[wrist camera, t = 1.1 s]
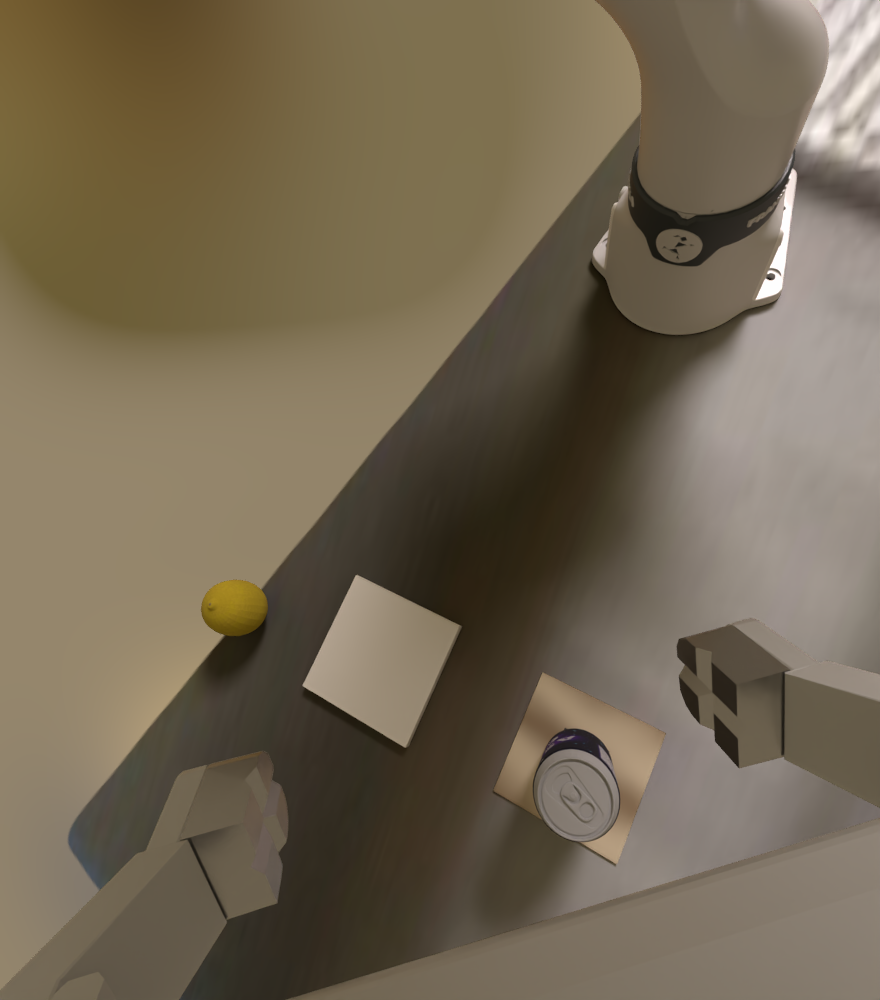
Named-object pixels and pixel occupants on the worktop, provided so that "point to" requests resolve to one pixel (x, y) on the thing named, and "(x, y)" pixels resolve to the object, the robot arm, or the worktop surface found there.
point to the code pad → (617, 730)
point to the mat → (382, 659)
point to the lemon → (234, 607)
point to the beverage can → (576, 786)
